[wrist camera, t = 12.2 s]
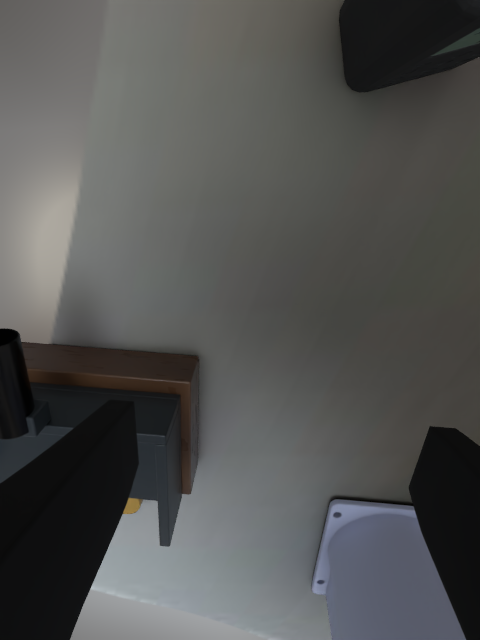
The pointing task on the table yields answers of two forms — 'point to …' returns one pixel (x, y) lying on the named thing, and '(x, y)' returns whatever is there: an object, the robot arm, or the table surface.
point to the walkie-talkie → (406, 39)
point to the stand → (126, 382)
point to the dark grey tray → (75, 406)
